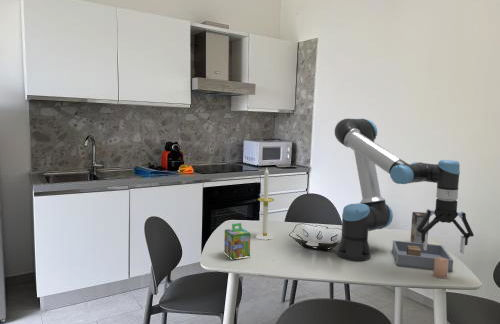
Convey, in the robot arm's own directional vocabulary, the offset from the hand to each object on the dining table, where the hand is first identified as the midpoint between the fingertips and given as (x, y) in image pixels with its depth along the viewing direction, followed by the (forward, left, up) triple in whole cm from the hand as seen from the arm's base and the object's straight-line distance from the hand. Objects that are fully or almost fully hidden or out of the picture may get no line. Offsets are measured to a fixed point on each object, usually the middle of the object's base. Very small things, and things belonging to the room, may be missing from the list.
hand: (443, 251), depth 149 cm
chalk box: (-85, -5, -11) cm, 86 cm away
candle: (-79, +25, -11) cm, 84 cm away
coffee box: (-2, +39, -11) cm, 40 cm away
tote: (-5, +16, -11) cm, 20 cm away
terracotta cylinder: (0, 0, -11) cm, 11 cm away
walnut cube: (-8, +16, -10) cm, 20 cm away
